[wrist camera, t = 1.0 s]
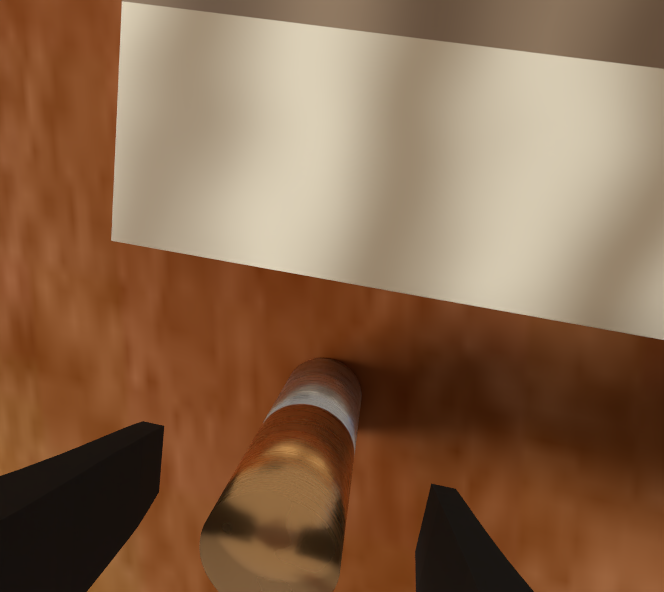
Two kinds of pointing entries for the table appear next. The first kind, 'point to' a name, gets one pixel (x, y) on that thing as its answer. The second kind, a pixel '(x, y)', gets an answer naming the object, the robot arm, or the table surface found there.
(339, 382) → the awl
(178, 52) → the board
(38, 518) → the robot arm
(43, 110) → the table surface
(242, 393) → the table surface
